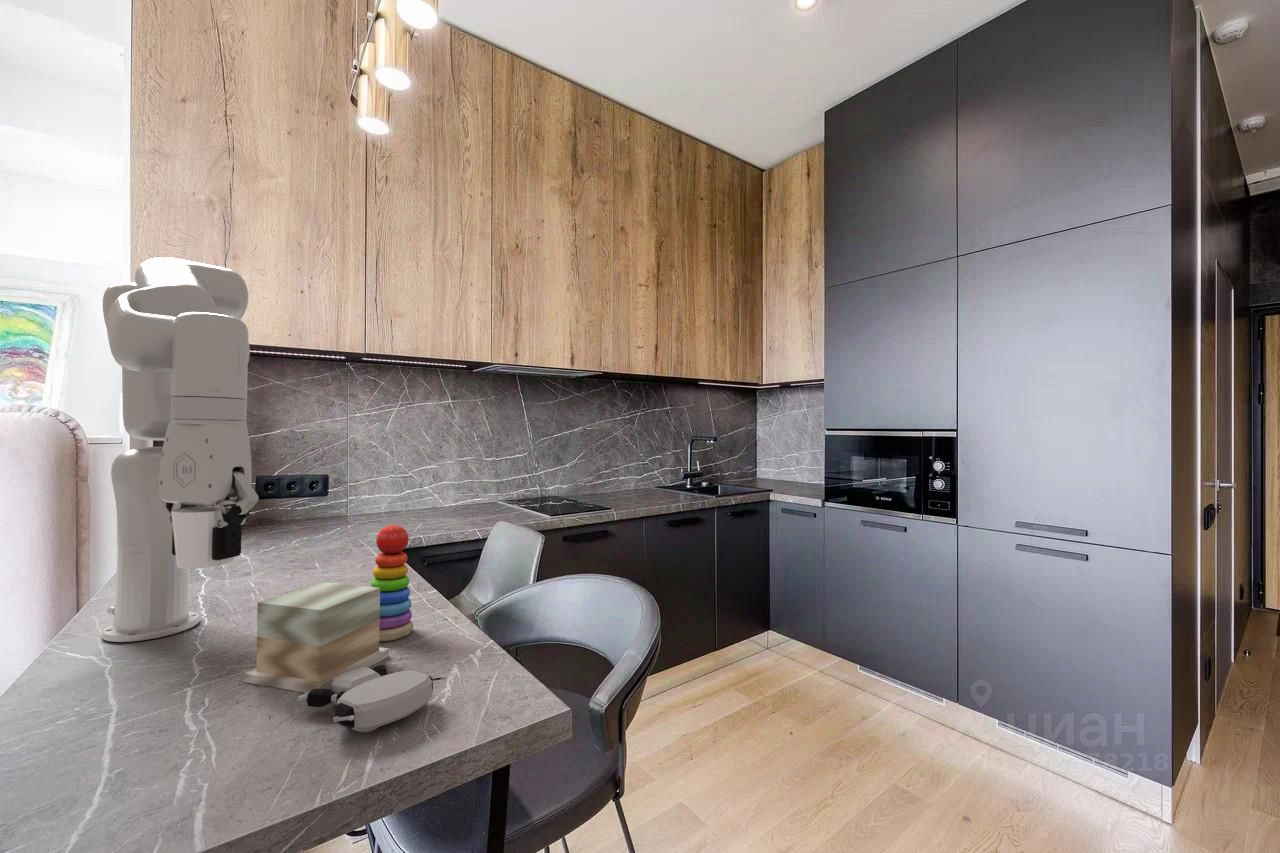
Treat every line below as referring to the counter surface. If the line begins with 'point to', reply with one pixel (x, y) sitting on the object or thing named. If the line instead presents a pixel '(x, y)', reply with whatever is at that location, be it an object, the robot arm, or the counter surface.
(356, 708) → the robot toy
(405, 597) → the stacking toy
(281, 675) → the patterned box
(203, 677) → the counter surface
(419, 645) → the counter surface
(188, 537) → the shot glass
